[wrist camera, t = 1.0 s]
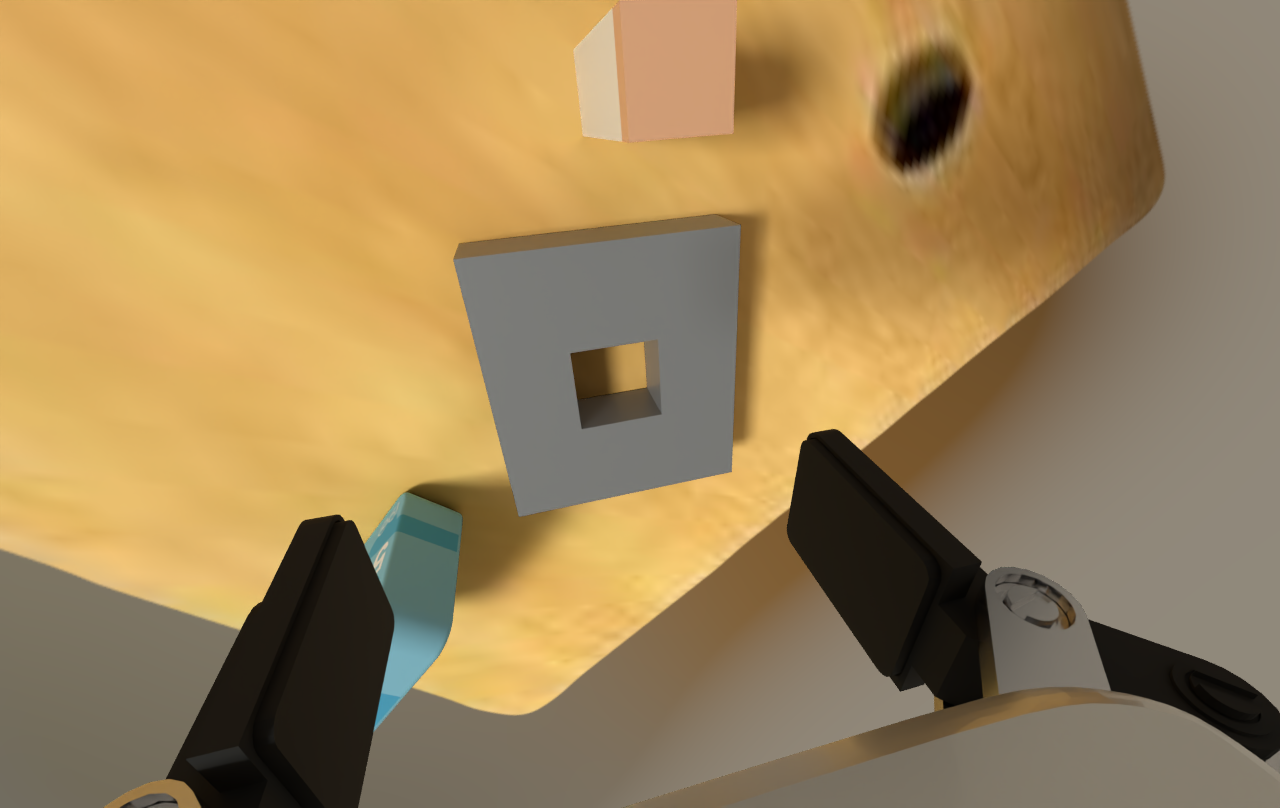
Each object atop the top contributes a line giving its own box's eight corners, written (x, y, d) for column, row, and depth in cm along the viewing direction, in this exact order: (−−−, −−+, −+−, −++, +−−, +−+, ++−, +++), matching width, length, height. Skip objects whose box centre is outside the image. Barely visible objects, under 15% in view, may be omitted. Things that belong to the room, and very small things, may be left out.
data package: (409, 482, 36) (372, 622, 26) (465, 505, 38) (452, 643, 28) (331, 588, 39) (270, 752, 29) (387, 604, 41) (349, 762, 31)
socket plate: (458, 243, 29) (453, 259, 26) (715, 214, 32) (740, 224, 28) (517, 482, 38) (519, 516, 35) (712, 443, 41) (731, 471, 37)
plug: (573, 49, 26) (619, 0, 16) (647, 45, 26) (736, -4, 16) (582, 136, 28) (629, 142, 18) (651, 130, 28) (733, 133, 18)
